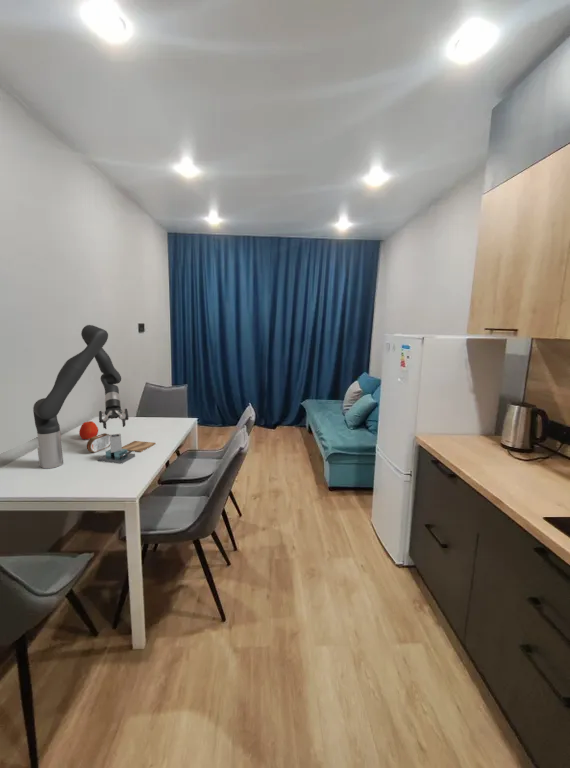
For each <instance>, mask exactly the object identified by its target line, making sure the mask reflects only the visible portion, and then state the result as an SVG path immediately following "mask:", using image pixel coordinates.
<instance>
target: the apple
mask: <svg viewBox="0 0 570 768" xmlns="http://www.w3.org/2000/svg"><path fill="white" fill-rule="evenodd" d="M78 432H79V433H78V434H79V437H80V438H81V439H82V440H85V439H86V440H89V439H90V438H92V437H95V436H98V435H99V434H98V433H99V427H98V426H97V424H96V423H95V422H93V421H91V420H89V421H86V422H83V423H82V424H81V426H80V428H79V431H78Z"/></svg>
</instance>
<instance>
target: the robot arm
mask: <svg viewBox="0 0 570 768" xmlns="http://www.w3.org/2000/svg"><path fill="white" fill-rule="evenodd" d="M80 335H81V338H82V340H83V341H84V344H86V347H85V348H84V349H83V350H82V351H81V352H79V353H76V354H74V355H73V356H72V357H70V358H68V359H67V360H66V361H65V362H64V364H63V365H62V367H61V368H60V370H59V372H58V374H57V376H56V377H55V378H56V379H55V382H54V384H53V386H52V389H51V390H50V392H49V393H48V394H47V395H46V397H44V398H40V399H38V400H36V401H35V403H34V404H33V407H32V409H33V410H32V411H33V418H34V425H35V428H36V434H37V441H38V442H37V443H38V447H37V457H38V464H39V467H41V468H42V469H53V468H57V467H60V466H62V465H64V454H63V448H62V447H63V446H62V445H63V444H62V436H61V425H60V423H59V421H58V414H59V413H60V411H61V409H62V407H63V405H64V403H65V401H66V399H67V397H69V394H70V393H71V392H72V391H73V389H74V388H75V386H76V384H78V382H79V380H80V379H81V377H82V376H83V374H85V372H86V370H87V368H88V367H89V365H90V364H91V363H92V361H93V359H94V358H95V361H96V363H97V366H98V368H99V371H100V372H101V376H100V382H101V384H102V386H103V388H104V389H103V390H104V403H105V404H104V405H105V406H104V407H105V411H102V410H100V411H98V423H100V424H102V427H103V429H105V430H107V423H108V421H109V420H110V419H111V420H112V419H119V420H121V422H122V423H121V424H122V427H123V428H125V427H126V421H128V420H129V418H130V417H129V411H128V409H127V408H124V409H121V407H122V404H121V397H120V389H119V386H118V385H117V384H120V382H121V381H122V376H121V374H120V373H119V371H118V370H117V369H116V368H115V366H114V364H113V361H112V358H111V357H110V356H109V354H108V353H107V351H106V350H105V349H104V348H103V347H104V346H105V345H106V343H107V342H108V338H109V333H108V332H107V330H106V329H103V328H101V327H98V326H96V325H94V324H87V325H85V326H84V327H83V328H82V329H81V334H80ZM122 413H123V414H124V415H125V416H124V415H122ZM104 415H105V417H104V418H103V416H104Z"/></svg>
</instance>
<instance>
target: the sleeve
mask: <svg viewBox="0 0 570 768" xmlns="http://www.w3.org/2000/svg"><path fill="white" fill-rule="evenodd" d="M109 435H110V449H111V453H113V452H120V451H122V447H123V446H122V436H121V435H122V434H121V433H113V434H109Z"/></svg>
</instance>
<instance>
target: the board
mask: <svg viewBox="0 0 570 768" xmlns="http://www.w3.org/2000/svg"><path fill="white" fill-rule="evenodd" d="M154 444H155V445H156V442H150V441H139V440H133V441H131V442H129V443H127V444H126V445H124V446H122V449H127V452H129V451H135V452H134V453H142V452H144V451H146V450H148V449H150V448H151V447H153V446H155V445H154ZM147 448H148V449H147ZM145 449H146V450H145ZM143 450H144V451H143Z"/></svg>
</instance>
